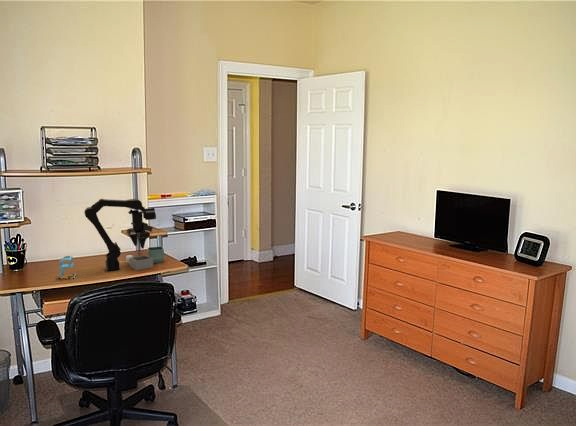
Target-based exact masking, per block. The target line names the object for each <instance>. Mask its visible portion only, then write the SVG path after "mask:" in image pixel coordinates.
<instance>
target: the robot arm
mask: <svg viewBox="0 0 576 426" xmlns="http://www.w3.org/2000/svg"><path fill="white" fill-rule="evenodd" d="M103 207H113V208H114V207H115V208H127V209H129V211H128V212H127V213H128V214H129V215H131V220H132V221H131V223H130V224H131V225H132V227H131V228H127V229H126V234H127V236H128V237H129V238H130V240H131V242H132V243H133V245H134V247H137V246H138V244H139V246H140V248H141V249H143V250H144V249H145V244H146V241H147V239H149V238H150V237H151V233H152V231H153V228H154V226H152V225H149V223H147V222H143V219H144V220H145V221H151V220H153V221H154V220H156V219H157V213H156V209H155V207H150V208H149V207H148V208H145V207H144V206H143V203H142V201H141V200H140V199H138V198H129V199H107V198H106V199H105V198H100V199H98V201H96V202H95V203H94V204H92V205H91V206H89V207H86V208H85V209H84V211H83V213H84V216H85V218H87V220H88V221H89V222H90V223H91V224H92V225H93V226H94V228H95V230H96V231H97V233H98V234H99V236H100V237H101V239H102V241H103V242H104V243H105V245H106V248H107V251H108V252H107V254H106V255H105V259H106V260H105V269H104V270H105V271H106V272H109V273H110V272H115V271H120V269H121V267H120V261H119V259H118V258H119V257H121V253H122V252H121V247H120V246H119V245H118V242H116V241H115V242H113V240H112V239H111V238H110V236H109V234H108V232H106V229H105V228H104V226H103V225H102V223H101V222H100V219H99V217H98V215H97V214H98V213H99V211H101V210H102V209H103ZM150 232H151V233H150Z"/></svg>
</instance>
